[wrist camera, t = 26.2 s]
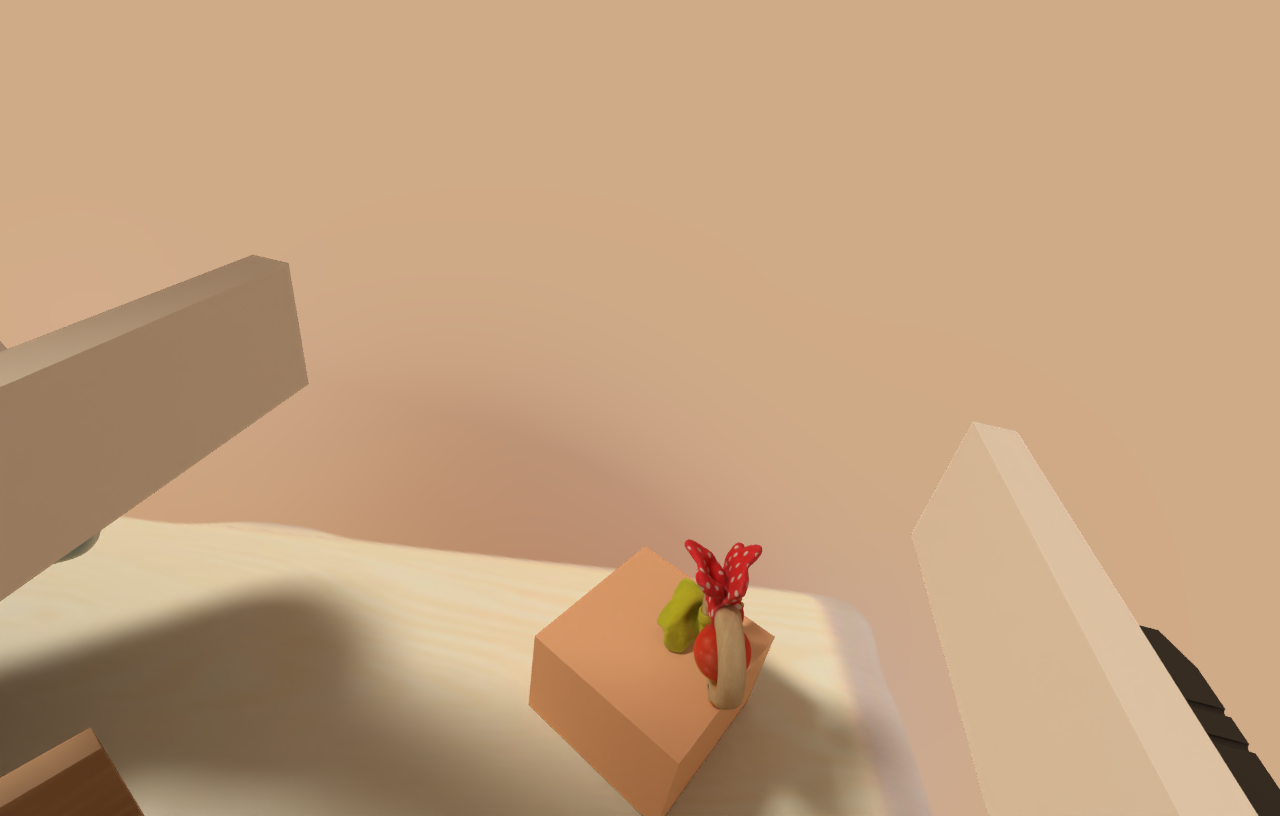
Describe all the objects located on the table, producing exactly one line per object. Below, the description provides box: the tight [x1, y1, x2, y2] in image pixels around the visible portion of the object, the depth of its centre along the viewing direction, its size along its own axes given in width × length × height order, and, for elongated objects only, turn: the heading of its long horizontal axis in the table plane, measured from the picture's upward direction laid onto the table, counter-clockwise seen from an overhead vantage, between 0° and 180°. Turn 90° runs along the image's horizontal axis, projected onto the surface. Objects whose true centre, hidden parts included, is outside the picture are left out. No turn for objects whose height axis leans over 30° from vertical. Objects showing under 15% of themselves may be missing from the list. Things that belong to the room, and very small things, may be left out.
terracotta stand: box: [529, 546, 774, 816], centre depth 44 cm, size 12×12×8 cm
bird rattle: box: [657, 540, 762, 710], centre depth 37 cm, size 6×11×9 cm
